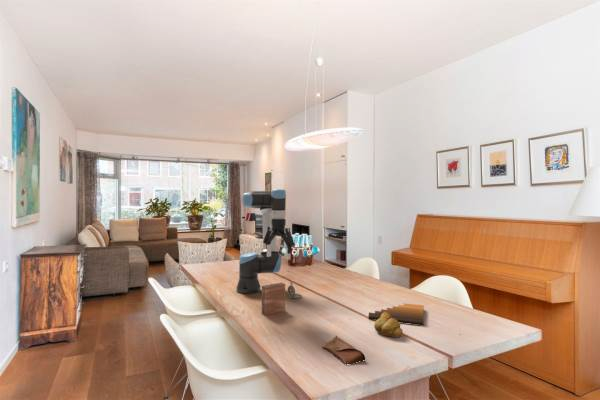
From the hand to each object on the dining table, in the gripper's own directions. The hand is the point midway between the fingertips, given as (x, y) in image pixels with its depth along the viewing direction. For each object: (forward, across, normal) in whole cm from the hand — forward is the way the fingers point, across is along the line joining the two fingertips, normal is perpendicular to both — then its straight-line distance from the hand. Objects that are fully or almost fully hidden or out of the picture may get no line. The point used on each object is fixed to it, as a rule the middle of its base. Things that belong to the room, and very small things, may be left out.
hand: (278, 258), depth 185 cm
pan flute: (+27, +55, +29) cm, 67 cm away
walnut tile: (+26, +3, -7) cm, 28 cm away
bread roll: (+26, +61, +2) cm, 67 cm away
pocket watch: (+27, -4, +20) cm, 34 cm away
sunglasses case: (+27, +55, -27) cm, 67 cm away
